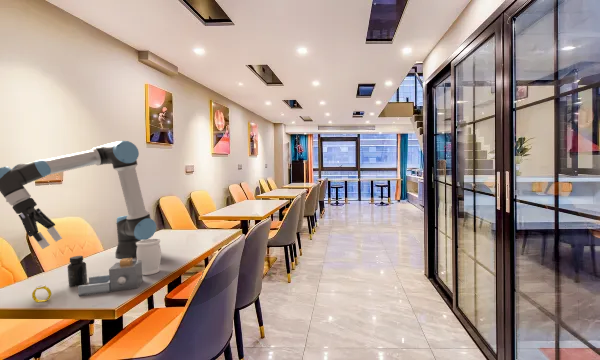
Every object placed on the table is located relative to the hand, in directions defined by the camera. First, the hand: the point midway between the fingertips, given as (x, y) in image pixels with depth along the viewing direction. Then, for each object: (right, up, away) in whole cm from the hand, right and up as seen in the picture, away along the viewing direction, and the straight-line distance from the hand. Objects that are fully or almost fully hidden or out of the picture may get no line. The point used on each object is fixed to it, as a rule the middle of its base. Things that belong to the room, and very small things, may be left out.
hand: (53, 243), depth 144 cm
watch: (+8, -19, -16) cm, 27 cm away
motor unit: (+29, -17, -5) cm, 34 cm away
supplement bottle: (+10, -18, +1) cm, 21 cm away
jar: (+36, -17, +14) cm, 42 cm away
